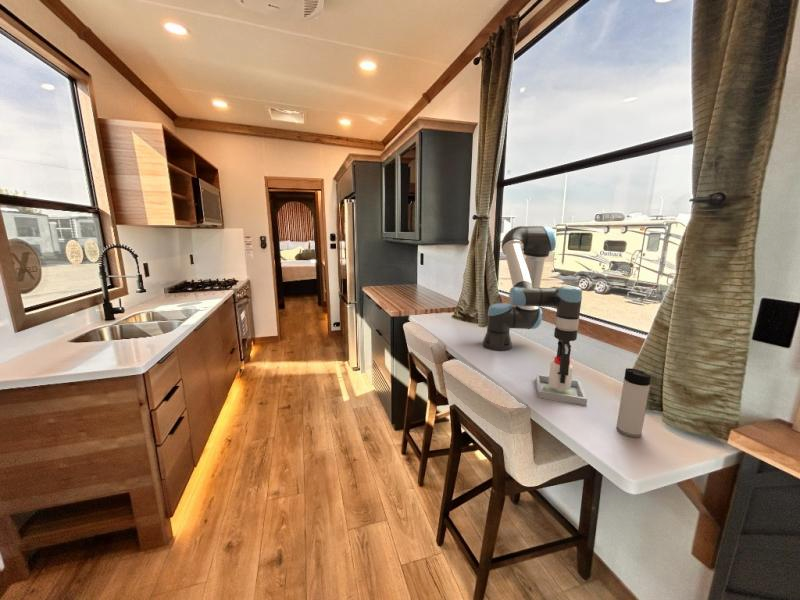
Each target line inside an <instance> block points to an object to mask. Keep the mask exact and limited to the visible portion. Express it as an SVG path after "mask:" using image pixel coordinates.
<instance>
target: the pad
mask: <svg viewBox="0 0 800 600" xmlns="http://www.w3.org/2000/svg"><path fill="white" fill-rule="evenodd" d="M542 389H543V391H547V392H553V393H560V394H566V395H572V396H576V393H575V391H574V390H573V389H572V388H571V389H570V390H566V391H560V390H557V389H554V388H552V387H550V386H549V384H546V385H544V386H543V388H542Z"/></svg>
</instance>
